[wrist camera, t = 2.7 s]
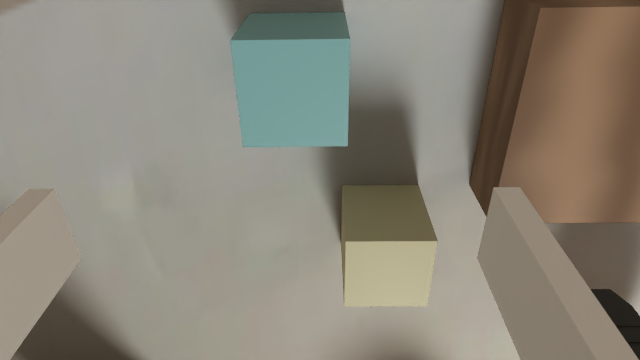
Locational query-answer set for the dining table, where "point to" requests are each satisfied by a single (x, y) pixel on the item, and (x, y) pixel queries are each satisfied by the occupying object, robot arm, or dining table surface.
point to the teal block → (292, 79)
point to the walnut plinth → (564, 110)
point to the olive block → (386, 246)
